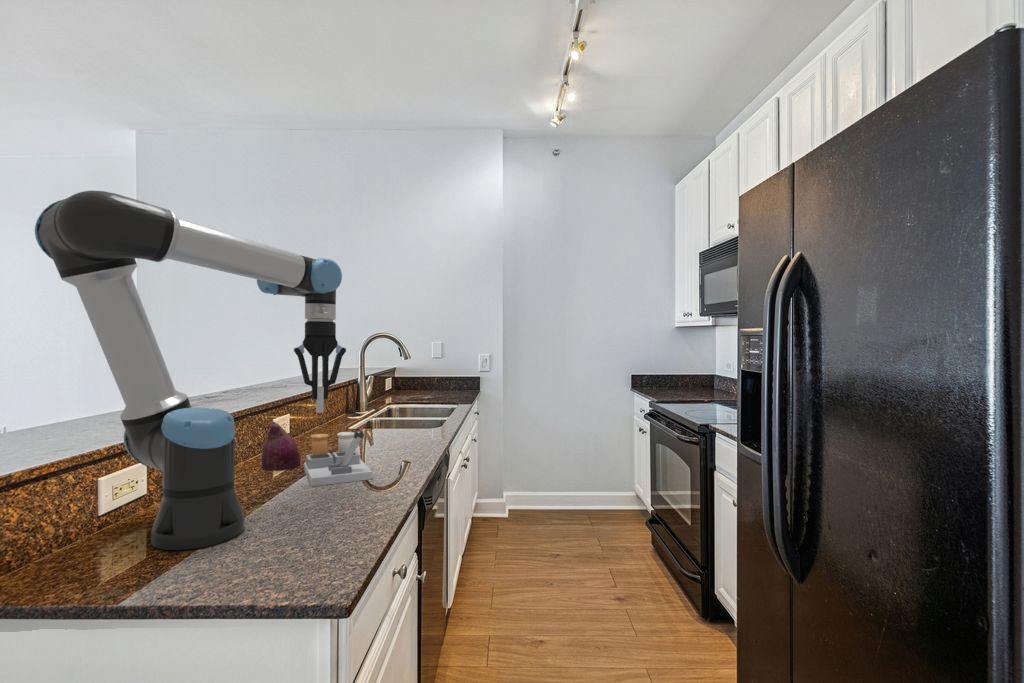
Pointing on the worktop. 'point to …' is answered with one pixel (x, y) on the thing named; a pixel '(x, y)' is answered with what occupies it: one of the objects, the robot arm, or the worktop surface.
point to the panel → (335, 469)
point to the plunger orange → (319, 444)
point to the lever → (352, 448)
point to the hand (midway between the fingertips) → (319, 411)
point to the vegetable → (279, 450)
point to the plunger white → (344, 441)
